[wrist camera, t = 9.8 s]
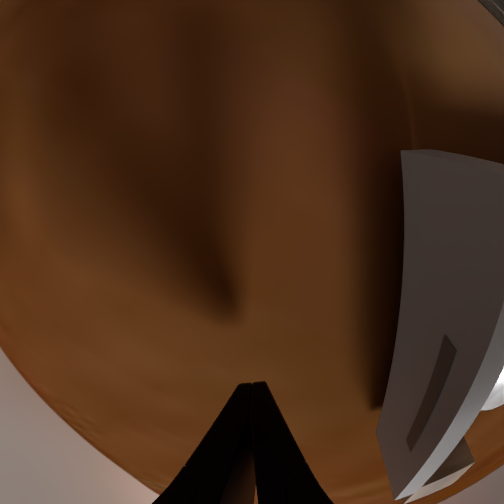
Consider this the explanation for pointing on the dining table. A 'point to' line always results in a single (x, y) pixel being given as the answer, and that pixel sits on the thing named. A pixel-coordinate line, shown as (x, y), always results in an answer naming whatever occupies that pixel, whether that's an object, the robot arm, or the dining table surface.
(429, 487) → the walnut block
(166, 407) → the dining table surface
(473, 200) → the tray
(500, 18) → the radio
